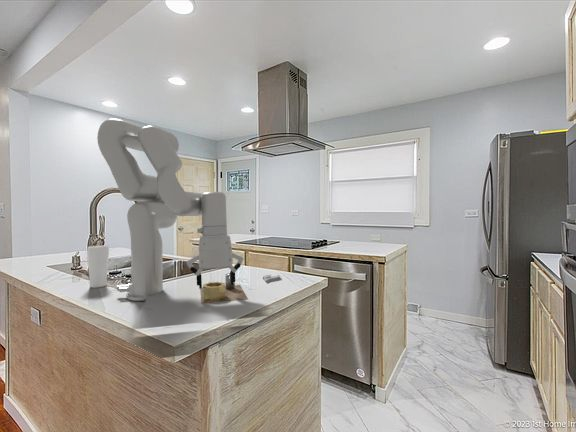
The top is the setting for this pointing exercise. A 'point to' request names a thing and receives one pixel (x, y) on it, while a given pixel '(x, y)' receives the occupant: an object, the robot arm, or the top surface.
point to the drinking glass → (98, 265)
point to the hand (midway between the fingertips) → (216, 286)
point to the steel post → (228, 285)
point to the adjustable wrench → (271, 278)
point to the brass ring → (213, 291)
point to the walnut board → (228, 295)
